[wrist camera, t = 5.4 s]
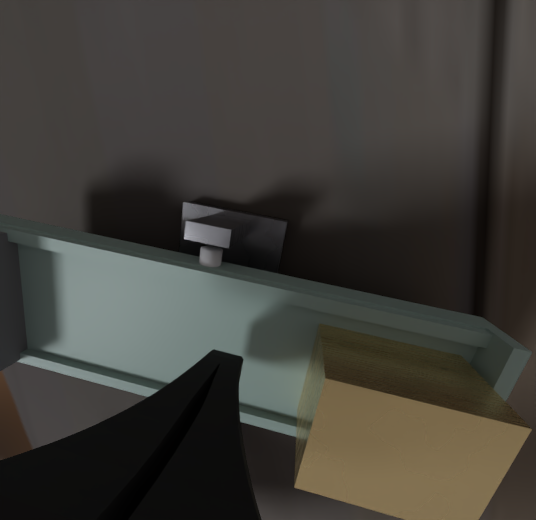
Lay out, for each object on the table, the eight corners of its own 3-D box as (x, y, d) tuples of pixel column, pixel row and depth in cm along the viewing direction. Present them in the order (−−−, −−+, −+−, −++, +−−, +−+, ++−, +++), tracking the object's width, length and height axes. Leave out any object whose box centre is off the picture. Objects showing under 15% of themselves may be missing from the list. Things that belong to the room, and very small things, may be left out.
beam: (420, 455, 14) (468, 564, 10) (6, 345, 16) (-95, 396, 12) (489, 303, 11) (592, 365, 7) (-12, 198, 13) (-147, 201, 9)
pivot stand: (255, 387, 18) (237, 453, 14) (175, 366, 19) (133, 423, 14) (288, 220, 15) (280, 232, 10) (190, 201, 15) (141, 204, 11)
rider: (422, 441, 12) (467, 537, 9) (297, 409, 13) (294, 487, 9) (461, 355, 11) (532, 429, 7) (319, 323, 11) (325, 378, 8)
